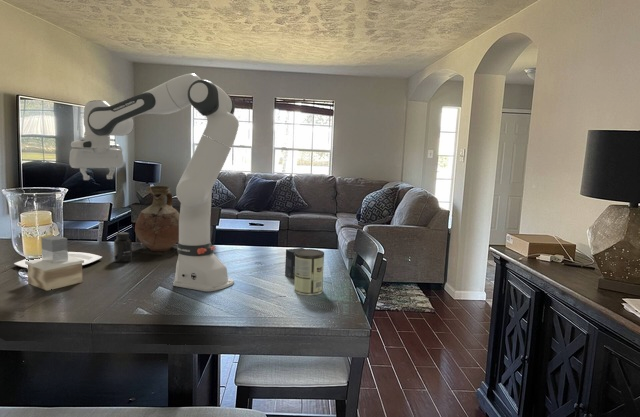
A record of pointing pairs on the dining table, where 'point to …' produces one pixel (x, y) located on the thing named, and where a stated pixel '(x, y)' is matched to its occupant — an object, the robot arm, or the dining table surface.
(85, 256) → the plate
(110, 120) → the robot arm
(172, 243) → the jug
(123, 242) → the supplement bottle
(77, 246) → the dining table surface
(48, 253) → the block
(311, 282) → the coffee can
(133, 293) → the dining table surface
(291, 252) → the box
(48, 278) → the stand
